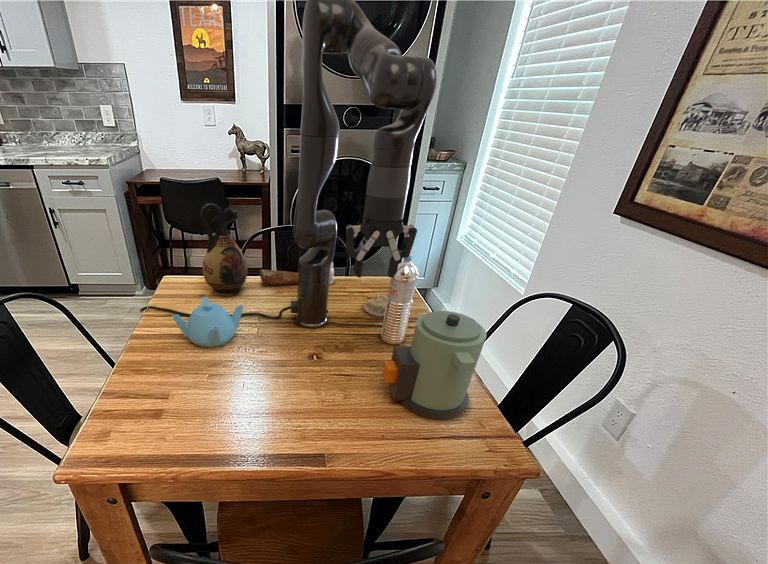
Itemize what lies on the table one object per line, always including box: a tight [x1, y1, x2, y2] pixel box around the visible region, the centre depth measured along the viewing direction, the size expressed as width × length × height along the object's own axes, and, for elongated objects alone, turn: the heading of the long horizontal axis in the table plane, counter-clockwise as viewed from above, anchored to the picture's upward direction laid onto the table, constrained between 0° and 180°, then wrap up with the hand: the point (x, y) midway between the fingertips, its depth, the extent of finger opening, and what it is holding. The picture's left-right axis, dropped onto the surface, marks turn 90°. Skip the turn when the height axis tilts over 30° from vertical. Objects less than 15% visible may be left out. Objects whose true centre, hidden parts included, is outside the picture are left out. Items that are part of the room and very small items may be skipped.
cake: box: [363, 294, 388, 317], centre depth 127 cm, size 10×10×5 cm
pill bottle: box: [329, 261, 335, 285], centre depth 144 cm, size 4×4×8 cm
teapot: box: [172, 296, 244, 348], centre depth 110 cm, size 15×15×11 cm
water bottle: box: [380, 255, 419, 346], centre depth 106 cm, size 7×7×25 cm
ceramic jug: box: [199, 202, 248, 297], centre depth 130 cm, size 17×15×30 cm
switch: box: [381, 360, 398, 384], centre depth 87 cm, size 2×4×4 cm, turn 1°
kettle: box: [387, 310, 488, 421], centre depth 86 cm, size 18×23×22 cm
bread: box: [259, 269, 298, 286], centre depth 143 cm, size 6×19×6 cm, turn 95°
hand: (374, 275), depth 81 cm, fingers open, 6 cm apart
